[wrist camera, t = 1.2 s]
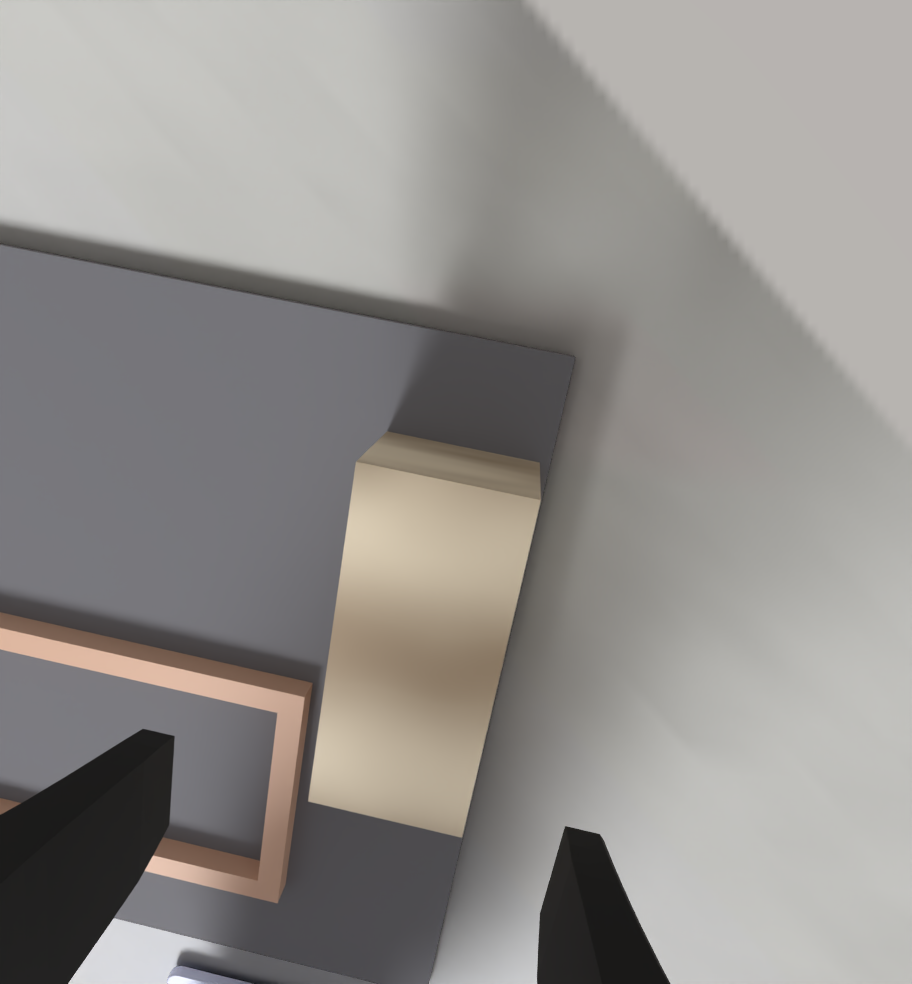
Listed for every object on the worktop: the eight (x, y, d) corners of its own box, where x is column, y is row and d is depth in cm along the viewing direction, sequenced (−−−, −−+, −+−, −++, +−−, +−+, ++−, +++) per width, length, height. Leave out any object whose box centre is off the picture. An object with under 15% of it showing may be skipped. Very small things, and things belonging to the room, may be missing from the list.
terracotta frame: (285, 884, 24) (277, 903, 24) (-79, 796, 25) (-98, 811, 24) (312, 682, 22) (304, 697, 21) (-96, 590, 23) (-117, 601, 22)
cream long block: (472, 754, 22) (462, 837, 19) (341, 724, 22) (308, 801, 19) (539, 462, 19) (540, 500, 16) (386, 431, 19) (356, 461, 16)
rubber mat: (427, 982, 26) (425, 995, 25) (-63, 860, 27) (-74, 871, 26) (574, 356, 18) (575, 357, 18) (-110, 222, 19) (-126, 220, 19)
